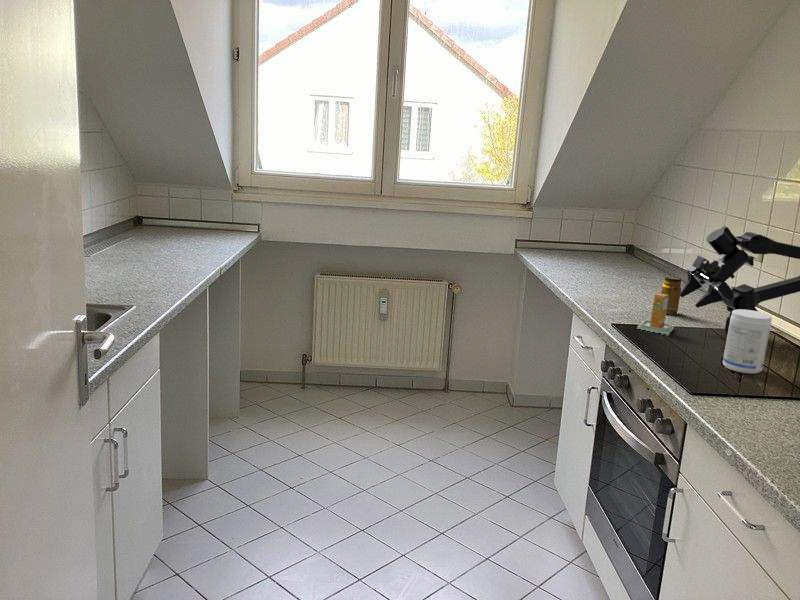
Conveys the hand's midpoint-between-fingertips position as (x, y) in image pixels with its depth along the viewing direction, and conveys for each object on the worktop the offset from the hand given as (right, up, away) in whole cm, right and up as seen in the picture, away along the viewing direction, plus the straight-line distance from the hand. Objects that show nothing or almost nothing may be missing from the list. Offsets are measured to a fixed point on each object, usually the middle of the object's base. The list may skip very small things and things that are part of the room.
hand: (688, 301), depth 227 cm
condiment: (+4, -4, +25) cm, 26 cm away
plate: (-10, -9, 0) cm, 13 cm away
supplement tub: (+1, -18, -33) cm, 38 cm away
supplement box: (-10, -8, 0) cm, 12 cm away
